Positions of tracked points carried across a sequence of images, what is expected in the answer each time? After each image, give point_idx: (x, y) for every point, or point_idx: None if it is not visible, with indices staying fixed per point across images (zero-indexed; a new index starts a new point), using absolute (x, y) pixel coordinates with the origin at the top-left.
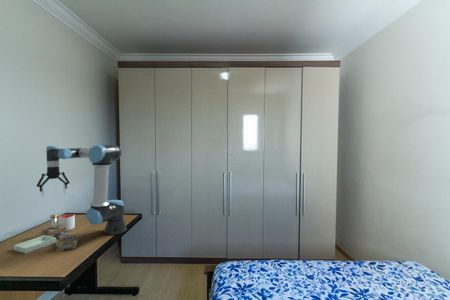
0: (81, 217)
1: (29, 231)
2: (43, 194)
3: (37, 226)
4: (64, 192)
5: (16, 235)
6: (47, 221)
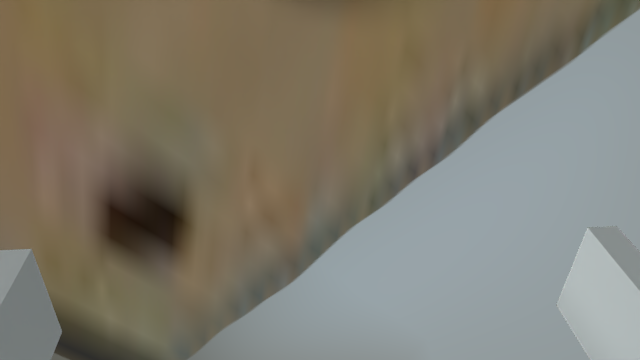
0: (17, 208)
1: (480, 76)
2: (613, 260)
3: (394, 179)
4: (15, 269)
5: (587, 31)
6: (305, 264)
